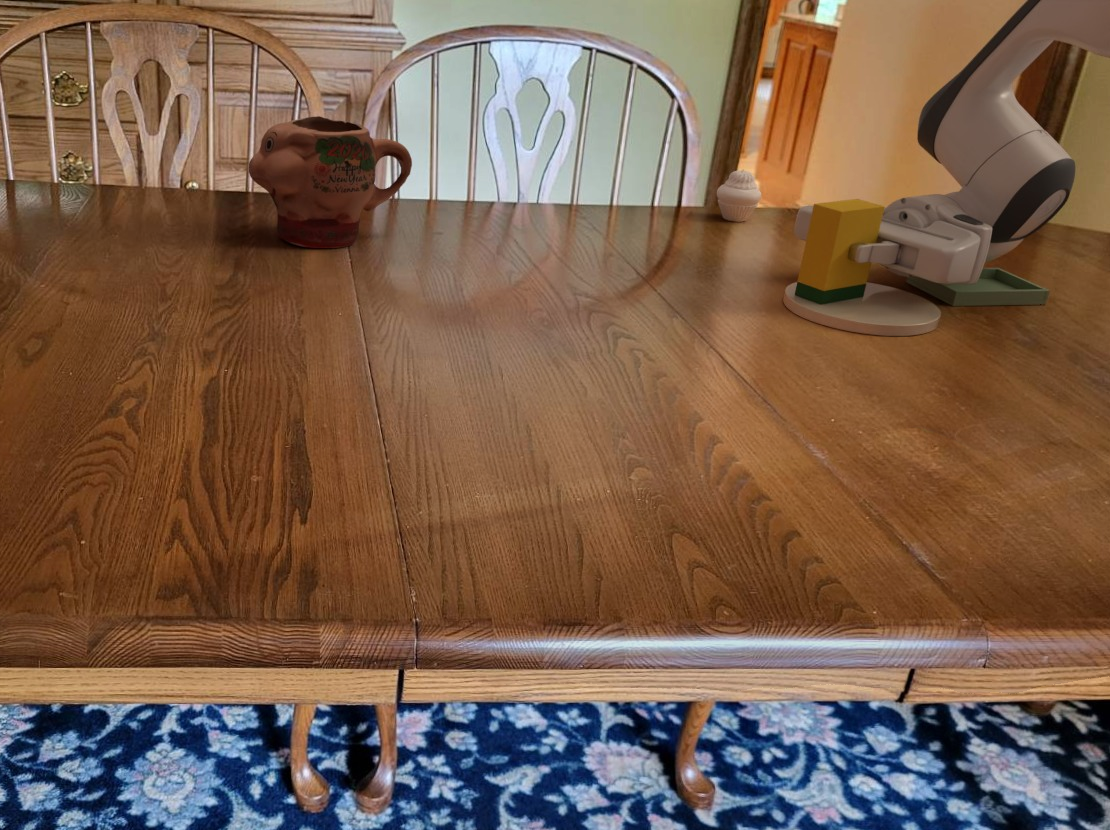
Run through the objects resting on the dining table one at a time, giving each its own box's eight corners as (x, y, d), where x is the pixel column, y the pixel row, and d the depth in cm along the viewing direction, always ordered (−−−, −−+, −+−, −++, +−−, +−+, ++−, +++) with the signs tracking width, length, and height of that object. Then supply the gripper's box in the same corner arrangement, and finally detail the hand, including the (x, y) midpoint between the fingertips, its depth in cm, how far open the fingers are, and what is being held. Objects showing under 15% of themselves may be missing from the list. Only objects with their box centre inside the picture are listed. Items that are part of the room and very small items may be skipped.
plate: (932, 301, 125) (934, 291, 124) (944, 345, 111) (947, 334, 110) (785, 281, 129) (787, 271, 128) (780, 321, 115) (782, 310, 115)
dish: (994, 281, 133) (998, 267, 133) (1045, 304, 125) (1050, 290, 125) (905, 282, 131) (909, 268, 130) (952, 306, 123) (956, 291, 122)
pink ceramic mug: (387, 222, 145) (392, 113, 139) (423, 246, 135) (430, 130, 129) (238, 230, 137) (236, 115, 131) (265, 256, 127) (264, 133, 121)
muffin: (766, 222, 155) (775, 172, 152) (735, 226, 152) (744, 175, 149) (733, 212, 160) (741, 163, 157) (703, 215, 157) (711, 166, 154)
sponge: (836, 287, 123) (857, 198, 119) (863, 296, 121) (885, 206, 116) (794, 295, 120) (813, 203, 116) (820, 304, 117) (841, 211, 113)
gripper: (847, 188, 131) (766, 196, 124) (1007, 230, 115) (924, 242, 108) (835, 240, 133) (755, 251, 127) (990, 288, 118) (908, 303, 111)
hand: (834, 247), depth 117 cm, fingers closed on sponge, 3 cm apart
